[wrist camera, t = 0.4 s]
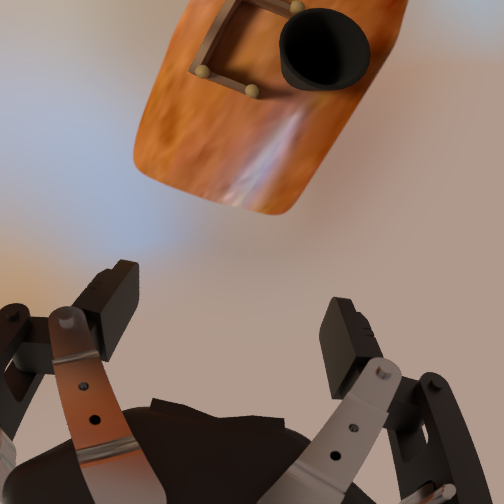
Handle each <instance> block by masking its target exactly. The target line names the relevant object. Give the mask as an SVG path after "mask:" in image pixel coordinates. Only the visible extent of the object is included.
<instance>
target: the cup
mask: <svg viewBox="0 0 504 504" xmlns="http://www.w3.org/2000/svg"><path fill="white" fill-rule="evenodd" d="M279 47H280V58H281V69H282V74H283V76H284V78H285V80H286V81H287V82H288V83H289V84H290V85H291V86H293V87H295V88H297V89H300V90H338V89H343V88H346V87H349V86H351V85H353V84H354V83H356V82H357V81H359V80H360V79H361V78H362V76H363V75H364V74H365V73H366V70H367V68H368V66H369V62H370V47H369V43H368V40H367V38H366V36H365V34H364V32H363V31H362V30H361V28H360V27H359V26H358V25H357V24H356V23H355V22H354V21H353V20H352V19H351V18H349V17H347V16H346V15H344V14H342V13H340V12H337V11H334V10H332V9H325V8H313V9H307V10H304V11H301V12H299V13H297V14H296V15H294V16H293V17H291V18H290V19H289V20H288V22H287V23H286V24H285V25H284V27H283V29H282V32H281V34H280V41H279Z"/></svg>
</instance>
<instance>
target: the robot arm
mask: <svg viewBox="0 0 504 504" xmlns="http://www.w3.org/2000/svg"><path fill="white" fill-rule="evenodd" d="M138 301H139V264H138V263H137V262H132V261H127V260H122V259H121V260H119V261H118V263H117V264H116V265H115V266H114V268H113V269H105V270H104V271H102V272H100V273H98V274H97V275H96V276H95V278H94V279H93V280H92V282H90V283H89V285H88V286H87V288H85V290H84V291H83V292H82V293H81V294H80V296H79V297H78V298H77V299H76V301H75V302H74V303H73V304H72V305H71V306H64V307H60V308H58V309H56V310H54V311H53V312H52V313H51V314H50V315H49V317H31V316H30V312H29V309H28V308H27V307H26V306H25V305H23V304H20V303H13V304H9V305H6V306H5V307H3V308H2V309H1V310H0V503H1V504H376V503H375V502H374V501H373V500H372V499H371V498H370V497H369V496H367V495H366V494H365V493H364V492H363V491H362V490H361V489H360V488H359V487H358V486H357V485H356V484H355V483H353V482H352V481H353V479H354V477H355V476H356V474H357V473H358V471H359V469H360V467H361V466H362V464H363V462H364V461H365V459H366V457H367V455H368V454H369V452H370V450H371V448H372V446H373V444H374V442H375V440H376V439H377V437H378V435H379V433H380V431H381V429H382V428H386V429H387V432H388V436H389V441H390V445H391V450H392V455H393V459H394V464H395V469H396V474H397V480H398V485H399V491H400V497H401V502H400V503H399V504H493V503H492V500H491V496H490V492H489V489H488V485H487V482H486V479H485V476H484V473H483V469H482V466H481V464H480V461H479V458H478V455H477V452H476V449H475V447H474V444H473V441H472V438H471V436H470V433H469V431H468V428H467V426H466V423H465V421H464V418H463V416H462V414H461V411H460V409H459V406H458V404H457V402H456V399H455V397H454V395H453V393H452V390H451V388H450V386H449V384H448V382H447V381H446V380H445V379H444V378H443V377H442V376H440V375H438V374H436V373H433V372H427V373H425V374H423V375H422V376H421V378H420V379H419V381H418V380H414V379H410V378H407V377H403V376H402V374H401V371H400V369H399V368H398V367H397V365H396V364H394V363H393V362H392V361H390V360H388V359H385V358H384V357H383V354H382V352H381V350H380V347H379V345H378V343H377V340H376V338H375V337H374V333H373V331H372V330H371V327H370V324H369V322H368V320H367V319H366V318H365V317H364V316H363V315H362V314H361V313H360V312H356V310H355V308H354V305H353V303H352V301H351V299H346V298H338V297H333V298H332V299H331V301H330V303H329V306H328V309H327V311H326V314H325V317H324V319H323V322H322V324H321V327H320V333H319V340H320V344H321V349H322V354H323V359H324V363H325V368H326V373H327V377H328V382H329V387H330V392H331V397H332V399H342V402H341V403H340V405H339V406H338V407H337V409H336V410H335V412H334V413H333V414H332V416H331V417H330V418H329V420H328V421H327V422H326V424H325V425H324V427H323V428H322V429H321V430H320V432H319V433H318V434H317V435H316V437H315V438H314V439H313V441H310V440H309V439H308V438H306V437H305V436H303V435H302V434H299V433H298V432H296V431H293V430H291V429H288V428H285V422H284V418H274V417H262V416H254V415H251V416H240V417H226V418H217V417H214V416H211V415H208V414H206V413H203V412H201V411H198V410H195V409H193V408H191V407H188V406H186V405H182V404H178V403H173V402H168V401H164V400H159V399H155V398H153V399H152V402H151V405H150V407H136V408H131V409H127V410H124V411H121V409H120V406H119V404H118V402H117V400H116V397H115V395H114V392H113V390H112V387H111V385H110V383H109V380H108V377H107V375H106V372H105V370H104V366H103V364H102V361H105V362H109V360H110V358H111V356H112V353H113V352H114V350H115V348H116V346H117V344H118V342H119V340H120V338H121V336H122V335H123V333H124V331H125V329H126V327H127V325H128V323H129V321H130V319H131V317H132V316H133V314H134V312H135V310H136V308H137V305H138ZM11 359H13V360H12V362H11V363H10V365H9V366H8V368H7V370H6V371H5V369H6V367H7V365H8V363H9V362H10V360H11ZM101 360H102V361H101ZM4 372H5V373H4ZM45 374H53V375H55V378H56V382H57V387H58V391H59V395H60V399H61V403H62V407H63V410H64V414H65V418H66V421H67V425H68V428H69V431H70V435H71V439H69V440H67V441H66V442H64V443H62V444H60V445H58V446H56V447H54V448H52V449H50V450H48V451H46V452H44V453H42V454H40V455H38V456H36V457H34V458H32V459H30V460H28V461H26V462H24V463H22V464H20V465H18V466H17V467H15V466H16V462H15V460H16V449H15V446H14V444H13V442H12V441H13V439H14V436H15V434H16V432H17V429H18V427H19V425H20V423H21V421H22V419H23V416H24V414H25V412H26V410H27V408H28V406H29V404H30V402H31V400H32V398H33V396H34V394H35V392H36V390H37V388H38V386H39V384H40V383H41V381H42V379H43V377H44V375H45ZM424 424H425V427H426V430H427V433H428V443H426V440H425V436H424V433H423V430H422V426H423V425H424Z"/></svg>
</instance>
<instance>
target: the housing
mask: <svg viewBox="0 0 504 504" xmlns="http://www.w3.org/2000/svg"><path fill="white" fill-rule="evenodd" d="M242 1H243V2H246V3H249V4H252V5H255V6H257V7H260V8H263V9H265V10H268V11H271V12H273V13H276V14H278V15H281V16H283V17H285V18H288V19H290V18H291V17H293V16H294V15H296V14H297V13H299V12H301V11H304V10H303V9H304V4H303V3H302V2H301V1H293V2H292V3H291V5H290V4H288V3H286V2H283V1H281V0H226V1H225V3H224V4H223V6H222V8H221V9H220V11H219V13H218V15H217V16H216V18H215V20H214V22H213V23H212V25H211V27H210V29H209V31H208V33H207V34H206V36H205V38H204V40H203V42H202V44H201V46H200V48H199V50H198V52H197V54H196V56H195V58H194V60H193V62H192V64H191V66H190V68H189V70H188V71H189V72H190V73H192V74H193V75H196V76H198V77H200V78H202V79H207V80H210V81H213V82H215V83H218V84H220V85H223V86H225V87H228V88H230V89H233V90H235V91H238V92H240V93H243V94H245V95H247V96H248V97H250V98H254V99H257V100H258V98H259V96H260V91H259V89H258V87H257V86H256V85H254V84H250V85H248V86H246V85H244V84H241V83H239V82H236V81H234V80H231V79H229V78H226V77H224V76H221V75H218V74H216V73H213V72H210V69H209V68H208V67H207V64H208V62H209V60H210V58H211V56H212V54H213V52H214V50H215V48H216V46H217V44H218V42H219V40H220V39H221V37H222V35H223V33H224V31H225V29H226V28H227V26H228V24H229V22H230V20H231V19H232V17H233V15H234V13H235V12H236V10H237V8H238V7H239V5H240V3H241V2H242Z"/></svg>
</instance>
